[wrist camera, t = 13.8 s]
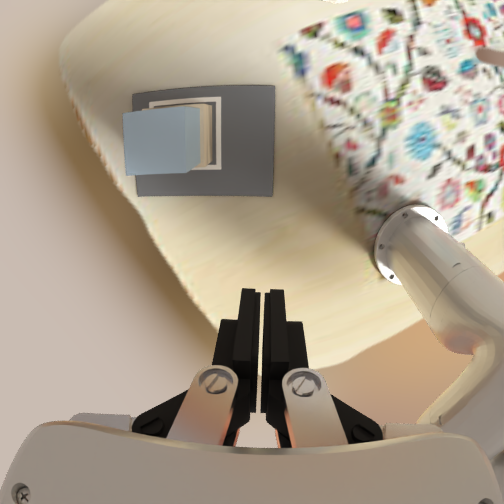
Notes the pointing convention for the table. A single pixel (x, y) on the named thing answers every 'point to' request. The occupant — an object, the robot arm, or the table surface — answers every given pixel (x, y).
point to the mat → (221, 142)
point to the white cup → (335, 1)
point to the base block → (201, 131)
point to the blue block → (161, 140)
